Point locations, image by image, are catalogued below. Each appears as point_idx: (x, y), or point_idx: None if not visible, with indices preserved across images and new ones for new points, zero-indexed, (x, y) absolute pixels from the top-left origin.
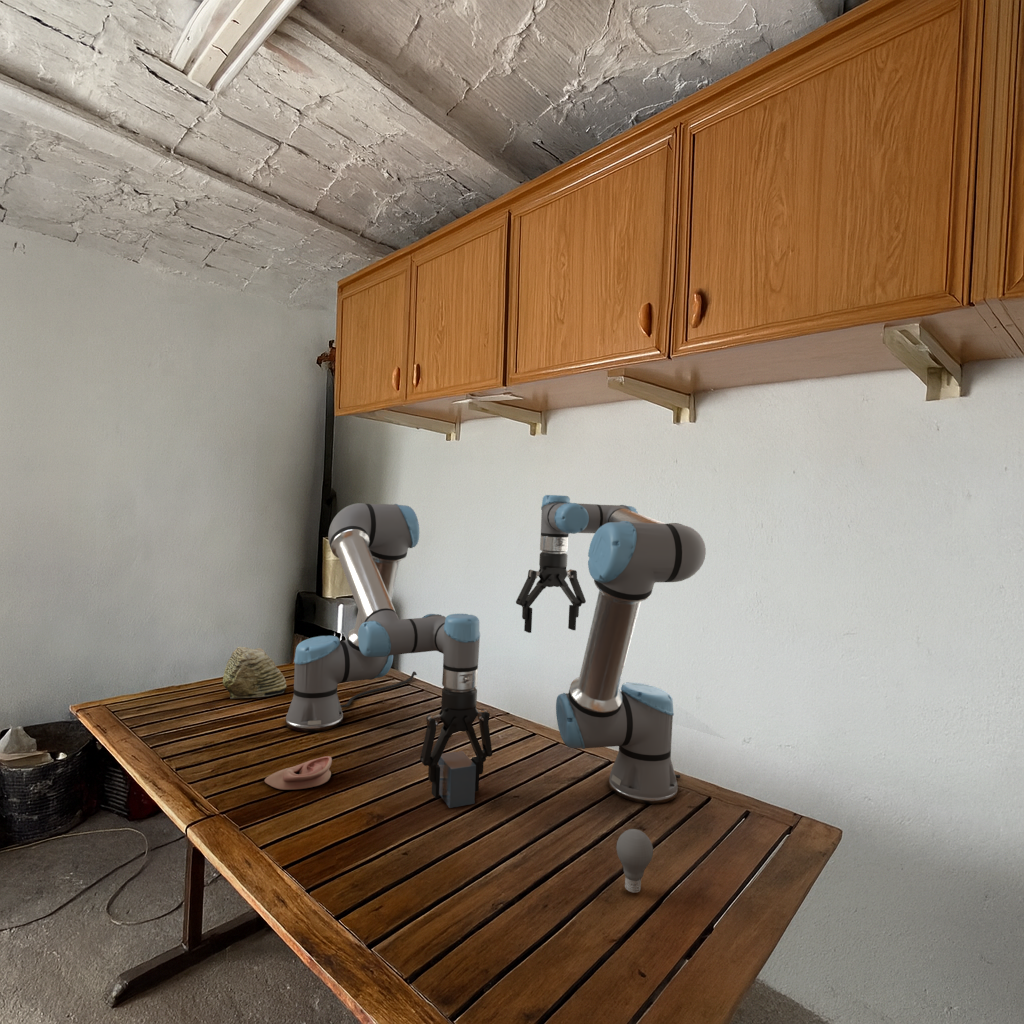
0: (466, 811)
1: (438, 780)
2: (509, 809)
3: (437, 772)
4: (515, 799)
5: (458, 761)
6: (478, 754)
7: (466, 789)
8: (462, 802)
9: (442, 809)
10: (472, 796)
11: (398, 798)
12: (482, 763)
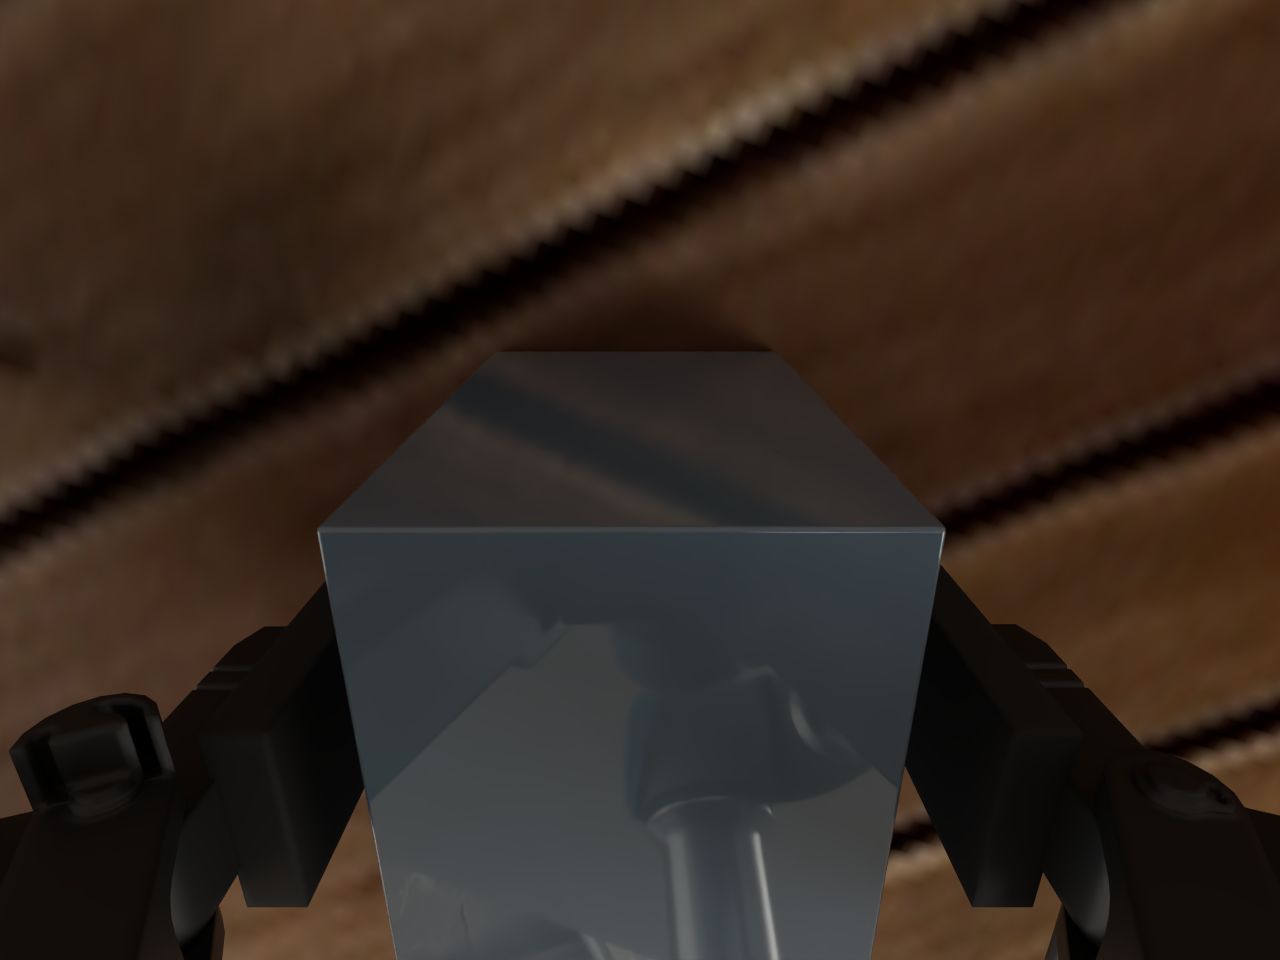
0: (633, 221)
1: (940, 603)
2: (131, 80)
3: (1023, 676)
4: (19, 291)
5: (636, 795)
6: (137, 868)
7: (580, 393)
8: (633, 358)
9: (852, 355)
10: (507, 367)
11: (1118, 677)
12: (173, 730)
